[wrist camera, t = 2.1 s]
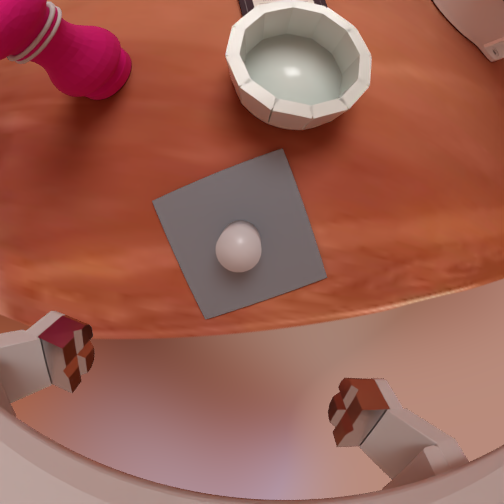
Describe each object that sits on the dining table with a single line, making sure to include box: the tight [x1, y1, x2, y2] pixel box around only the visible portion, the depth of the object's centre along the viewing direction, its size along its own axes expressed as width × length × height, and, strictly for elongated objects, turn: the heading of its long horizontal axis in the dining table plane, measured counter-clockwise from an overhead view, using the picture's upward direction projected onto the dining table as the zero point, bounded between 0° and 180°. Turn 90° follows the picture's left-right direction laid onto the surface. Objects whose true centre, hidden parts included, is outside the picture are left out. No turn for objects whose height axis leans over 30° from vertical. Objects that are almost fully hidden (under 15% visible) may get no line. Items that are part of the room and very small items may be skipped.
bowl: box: [225, 0, 372, 130], centre depth 19 cm, size 11×11×6 cm
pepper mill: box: [0, 0, 131, 100], centre depth 12 cm, size 7×7×20 cm
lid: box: [152, 148, 327, 319], centre depth 24 cm, size 13×13×5 cm
